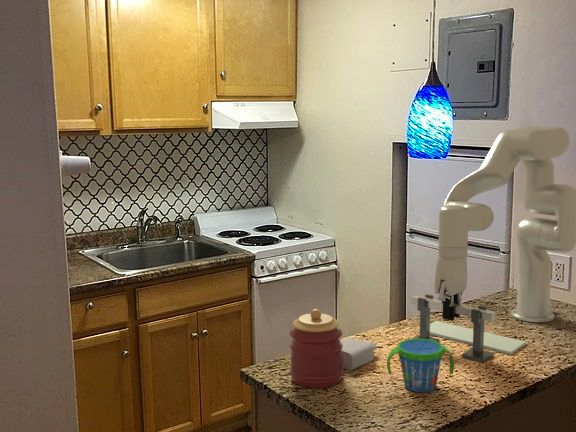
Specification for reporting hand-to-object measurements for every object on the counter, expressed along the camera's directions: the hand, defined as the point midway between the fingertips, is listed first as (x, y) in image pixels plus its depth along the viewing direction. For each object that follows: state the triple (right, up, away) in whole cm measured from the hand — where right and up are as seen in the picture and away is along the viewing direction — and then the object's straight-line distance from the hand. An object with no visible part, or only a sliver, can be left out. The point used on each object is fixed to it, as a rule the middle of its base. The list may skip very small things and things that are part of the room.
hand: (451, 317), depth 171 cm
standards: (0, -9, +1) cm, 9 cm away
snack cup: (-13, -13, -21) cm, 28 cm away
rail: (0, +2, 0) cm, 2 cm away
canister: (-37, -13, -15) cm, 42 cm away
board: (+8, -7, +10) cm, 15 cm away
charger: (-26, -11, -3) cm, 28 cm away
